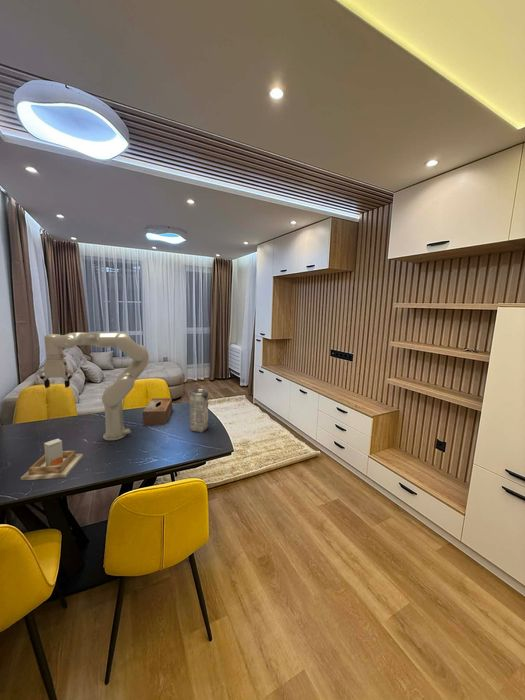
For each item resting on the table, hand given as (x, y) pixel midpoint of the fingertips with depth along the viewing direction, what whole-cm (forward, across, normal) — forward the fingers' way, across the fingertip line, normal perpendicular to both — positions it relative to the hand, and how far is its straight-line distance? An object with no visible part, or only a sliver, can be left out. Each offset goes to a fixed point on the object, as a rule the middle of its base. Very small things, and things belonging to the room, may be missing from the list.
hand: (57, 387), depth 152 cm
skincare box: (+32, -8, +25) cm, 41 cm away
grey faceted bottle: (+34, -76, -9) cm, 84 cm away
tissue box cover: (+34, -47, -32) cm, 66 cm away
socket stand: (+33, -8, +25) cm, 42 cm away
